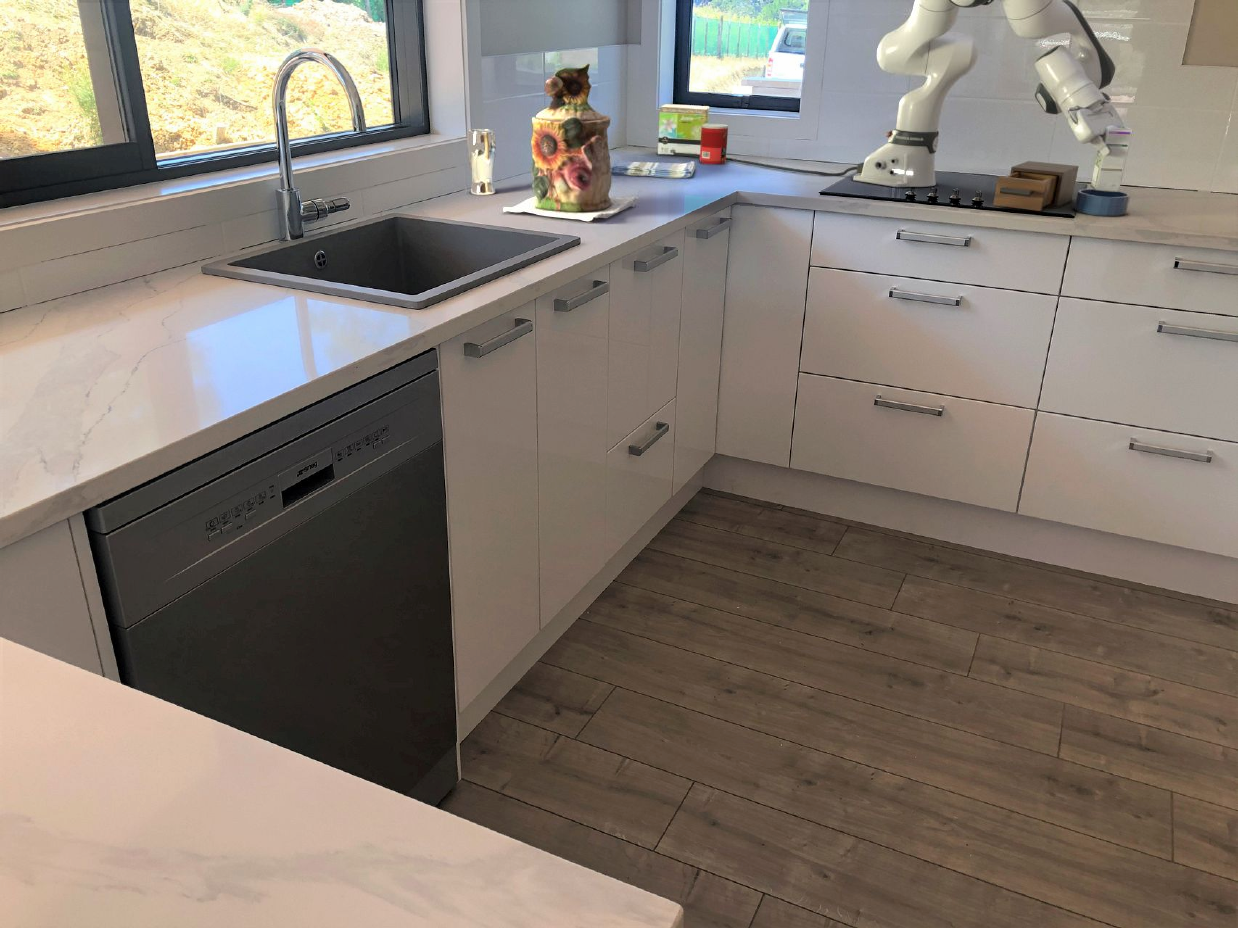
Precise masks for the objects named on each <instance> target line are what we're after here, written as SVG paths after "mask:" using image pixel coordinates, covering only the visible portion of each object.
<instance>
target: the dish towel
mask: <svg viewBox="0 0 1238 928" xmlns="http://www.w3.org/2000/svg"><path fill="white" fill-rule="evenodd" d="M695 169H696V162H694V161H689V162H682V163H681V162H680V163H674V162H648V161H626V160H617V161H616V162H615V163H614V164H613V165H612V166H611V176H612V175H613V176H636V177H654V178H655V177H656V178H664V179H666V178H672V179H675V178H676V179H679V178H680V179H681V178H684V179H691V178H692V176H693V174H694V171H695Z"/></svg>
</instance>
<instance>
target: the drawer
mask: <svg viewBox="0 0 1238 928" xmlns="http://www.w3.org/2000/svg"><path fill="white" fill-rule="evenodd" d="M1057 181H1058V176H1054V175H1045V174H1035V173H1026V172H1015V173H1013V174H1010V173H1009V174H1008V175H1005V176H1003V175H999V176H997V181H996V186H995V192H994V197H993V199H994V200H993V203H992V205H993V206H997V207H1005V208H1014V209H1020V210H1022V209H1023V210H1029V211H1037V212H1042V211H1043V208H1044V206H1046V205H1048V204H1050V203H1052V202H1053V201H1054V196H1055V191H1056V186H1057Z"/></svg>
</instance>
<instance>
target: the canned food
mask: <svg viewBox="0 0 1238 928" xmlns="http://www.w3.org/2000/svg"><path fill="white" fill-rule="evenodd" d="M728 134H729V126H728V124H722V123H708V124H702V128H701V147H700V157H699V161H700V163H702V164H705V165H723V164H726V161H727V160H726V158H727V150H728V149H727V148H728V137H729V135H728Z"/></svg>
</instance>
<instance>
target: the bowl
mask: <svg viewBox="0 0 1238 928" xmlns="http://www.w3.org/2000/svg"><path fill="white" fill-rule="evenodd" d="M1130 198H1131V195H1130V194H1129V193H1127V192H1123V191H1119V192H1113V191H1099V190H1095V189H1093V188H1084V189H1079V190H1077V195H1076V199H1075V204H1074V210H1076V211H1077V212H1078V213H1082V214H1086V215H1091V216H1092V215H1093V216H1101V217H1119V216H1123V215H1126V214H1127V212H1128V208H1129V203H1130Z"/></svg>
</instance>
